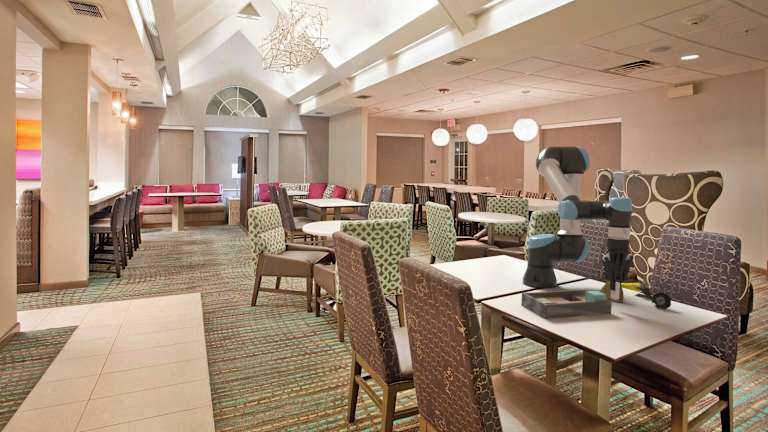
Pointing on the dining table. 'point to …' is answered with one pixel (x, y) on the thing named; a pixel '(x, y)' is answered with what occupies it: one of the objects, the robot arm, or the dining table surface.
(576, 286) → the dining table surface
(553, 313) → the trap board
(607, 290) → the rock
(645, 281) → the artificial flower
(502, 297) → the dining table surface
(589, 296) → the block
